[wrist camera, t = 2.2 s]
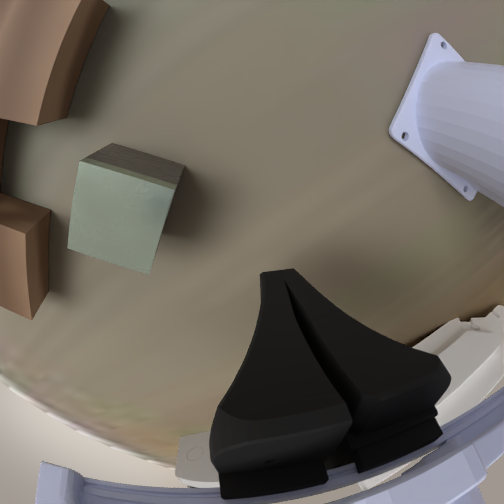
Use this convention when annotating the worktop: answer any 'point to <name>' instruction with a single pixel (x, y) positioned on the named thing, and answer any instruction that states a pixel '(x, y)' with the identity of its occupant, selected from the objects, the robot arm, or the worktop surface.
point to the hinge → (196, 462)
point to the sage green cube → (122, 205)
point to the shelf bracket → (463, 367)
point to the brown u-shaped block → (36, 123)
